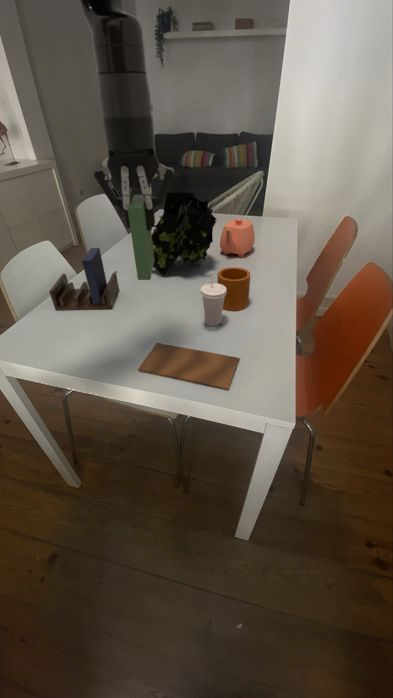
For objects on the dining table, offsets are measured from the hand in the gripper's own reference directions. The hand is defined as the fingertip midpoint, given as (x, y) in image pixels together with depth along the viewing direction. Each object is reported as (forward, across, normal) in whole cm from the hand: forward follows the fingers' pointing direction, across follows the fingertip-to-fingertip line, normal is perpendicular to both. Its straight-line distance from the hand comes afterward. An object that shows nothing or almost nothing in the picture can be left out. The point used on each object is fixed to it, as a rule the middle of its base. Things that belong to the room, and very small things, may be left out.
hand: (141, 229), depth 59 cm
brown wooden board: (+27, +8, -8) cm, 29 cm away
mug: (+27, +21, +20) cm, 40 cm away
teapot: (+27, +26, +57) cm, 69 cm away
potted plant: (+27, +4, +46) cm, 53 cm away
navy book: (+26, -18, +23) cm, 39 cm away
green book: (+8, 0, 0) cm, 8 cm away
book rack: (+27, -22, +23) cm, 42 cm away
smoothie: (+27, +14, +9) cm, 32 cm away
